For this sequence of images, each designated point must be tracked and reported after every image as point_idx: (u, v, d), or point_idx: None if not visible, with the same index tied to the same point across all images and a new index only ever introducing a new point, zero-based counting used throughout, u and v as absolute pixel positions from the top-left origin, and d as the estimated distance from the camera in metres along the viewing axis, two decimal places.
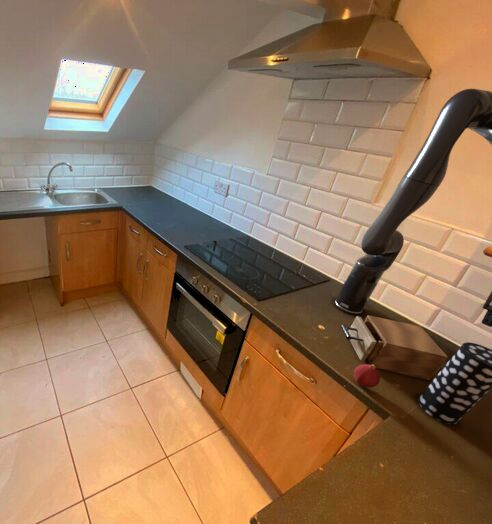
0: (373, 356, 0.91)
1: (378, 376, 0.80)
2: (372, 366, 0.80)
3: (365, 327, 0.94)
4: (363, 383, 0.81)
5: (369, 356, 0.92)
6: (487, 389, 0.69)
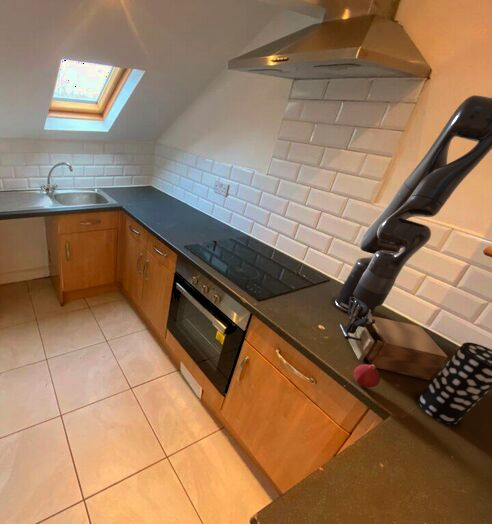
0: (371, 356, 0.91)
1: (378, 376, 0.80)
2: (372, 366, 0.80)
3: (363, 327, 0.94)
4: (363, 383, 0.81)
5: (367, 356, 0.92)
6: (487, 389, 0.69)
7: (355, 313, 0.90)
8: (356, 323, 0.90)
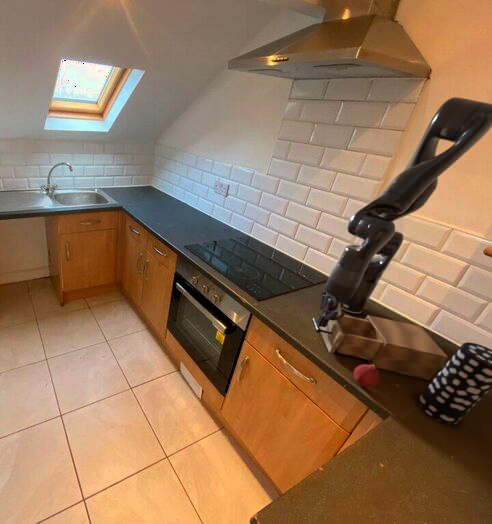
0: (341, 349, 0.92)
1: (378, 376, 0.80)
2: (372, 366, 0.80)
3: None
4: (363, 383, 0.81)
5: (338, 349, 0.93)
6: (487, 389, 0.69)
7: (326, 307, 0.92)
8: (327, 316, 0.91)
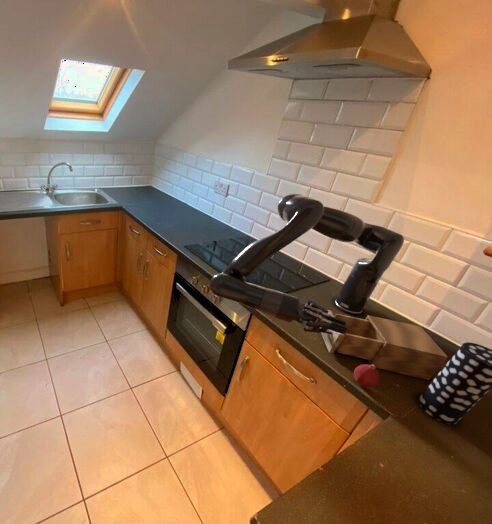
0: (341, 349, 0.92)
1: (378, 376, 0.80)
2: (372, 366, 0.80)
3: None
4: (363, 383, 0.81)
5: (338, 349, 0.93)
6: (487, 389, 0.69)
7: None
8: None
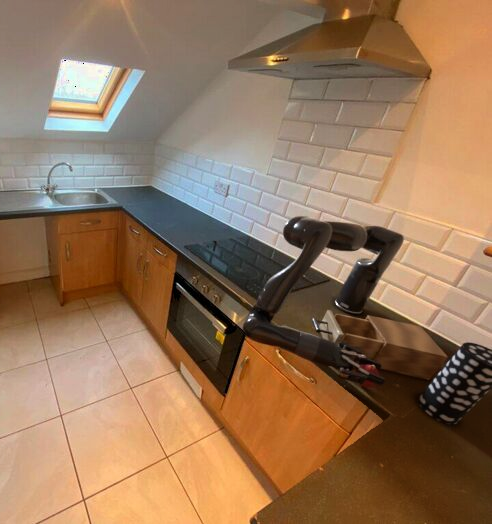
0: None
1: None
2: (372, 366, 0.80)
3: (334, 320, 0.95)
4: (363, 383, 0.81)
5: None
6: (487, 389, 0.69)
7: None
8: None
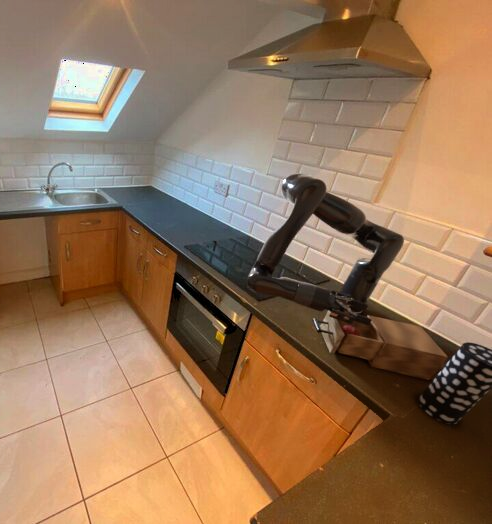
0: (342, 349, 0.92)
1: None
2: (351, 330, 0.91)
3: (335, 320, 0.95)
4: None
5: (339, 349, 0.93)
6: (487, 389, 0.69)
7: None
8: None
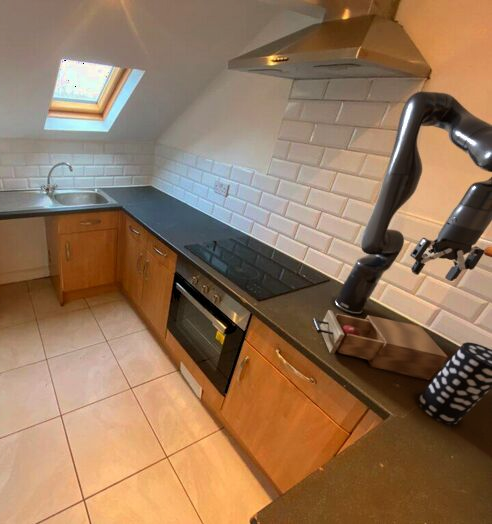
0: (342, 349, 0.92)
1: None
2: (351, 330, 0.91)
3: (335, 320, 0.95)
4: None
5: (339, 349, 0.93)
6: (487, 389, 0.69)
7: (461, 259, 0.80)
8: (474, 266, 0.81)
